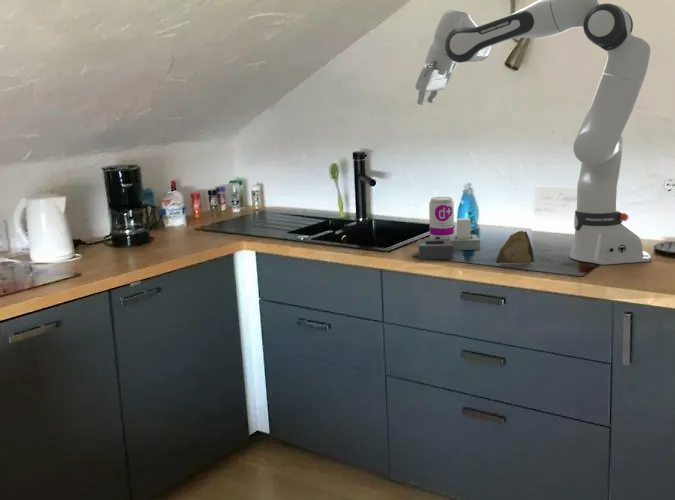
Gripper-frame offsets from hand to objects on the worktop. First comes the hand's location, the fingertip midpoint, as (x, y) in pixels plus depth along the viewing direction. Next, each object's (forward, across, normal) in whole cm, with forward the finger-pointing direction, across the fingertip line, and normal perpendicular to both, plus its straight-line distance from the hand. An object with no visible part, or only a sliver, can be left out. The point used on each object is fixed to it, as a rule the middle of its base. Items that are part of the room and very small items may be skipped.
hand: (424, 103), depth 232 cm
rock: (+30, -18, -48) cm, 60 cm away
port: (+39, -20, -26) cm, 51 cm away
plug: (+36, -6, -31) cm, 48 cm away
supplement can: (+42, +3, -21) cm, 47 cm away
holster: (+37, -6, -31) cm, 49 cm away
